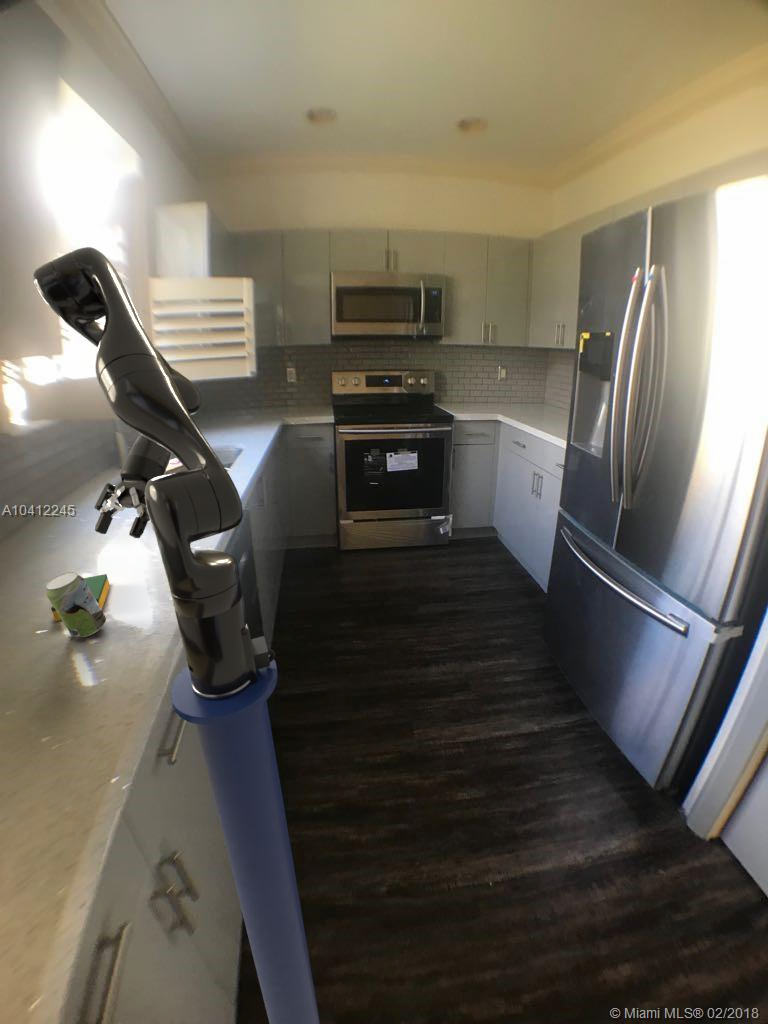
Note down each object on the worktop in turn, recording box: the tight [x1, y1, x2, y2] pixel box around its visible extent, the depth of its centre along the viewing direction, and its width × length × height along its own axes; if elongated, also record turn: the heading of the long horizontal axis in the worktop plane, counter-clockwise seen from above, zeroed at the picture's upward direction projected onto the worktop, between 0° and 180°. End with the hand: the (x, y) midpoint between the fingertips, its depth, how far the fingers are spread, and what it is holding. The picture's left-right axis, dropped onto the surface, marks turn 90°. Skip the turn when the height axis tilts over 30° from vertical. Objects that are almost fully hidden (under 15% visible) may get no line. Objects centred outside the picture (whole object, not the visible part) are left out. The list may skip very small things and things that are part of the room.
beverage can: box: [45, 571, 107, 638], centre depth 84 cm, size 6×7×12 cm
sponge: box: [50, 573, 111, 622], centre depth 95 cm, size 8×11×3 cm
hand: (116, 534), depth 89 cm, fingers open, 8 cm apart
